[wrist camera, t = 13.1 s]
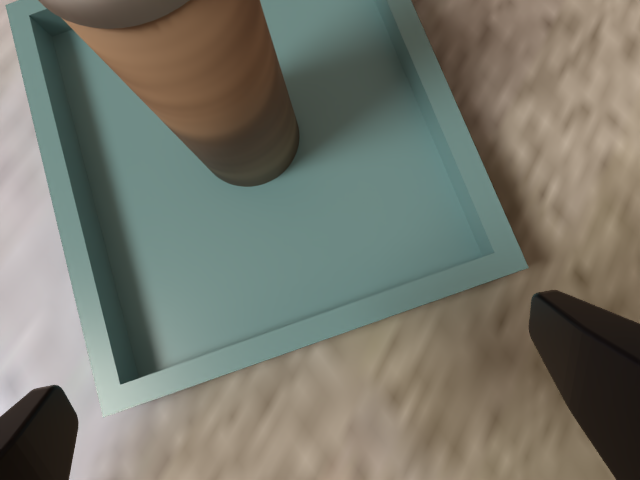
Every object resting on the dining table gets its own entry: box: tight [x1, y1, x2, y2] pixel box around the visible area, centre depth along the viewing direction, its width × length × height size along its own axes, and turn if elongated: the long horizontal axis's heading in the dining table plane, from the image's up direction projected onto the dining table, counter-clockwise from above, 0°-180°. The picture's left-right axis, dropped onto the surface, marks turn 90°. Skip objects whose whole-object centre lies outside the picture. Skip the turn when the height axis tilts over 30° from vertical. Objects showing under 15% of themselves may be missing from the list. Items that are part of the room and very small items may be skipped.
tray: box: [6, 0, 529, 417], centre depth 22 cm, size 20×18×2 cm
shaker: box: [38, 0, 299, 187], centre depth 15 cm, size 5×5×14 cm
